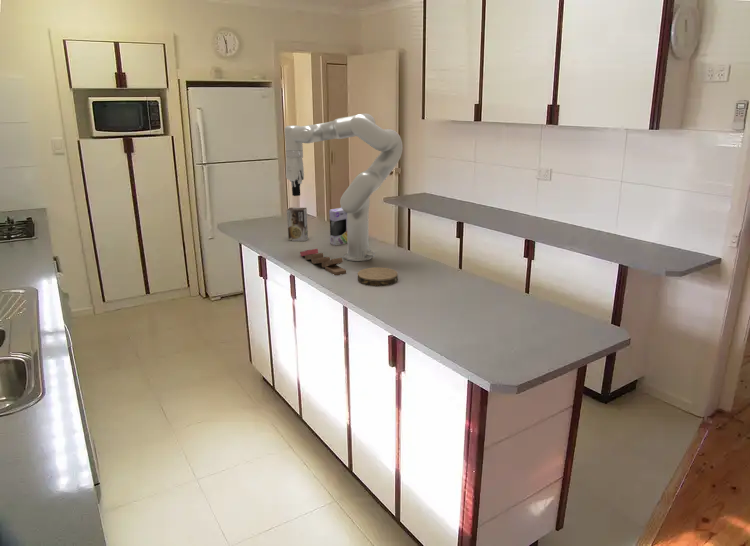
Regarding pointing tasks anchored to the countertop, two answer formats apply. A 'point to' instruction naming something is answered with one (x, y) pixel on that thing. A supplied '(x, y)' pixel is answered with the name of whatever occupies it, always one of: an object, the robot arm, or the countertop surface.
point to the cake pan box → (338, 226)
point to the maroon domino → (309, 252)
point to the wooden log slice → (377, 276)
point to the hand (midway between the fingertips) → (296, 195)
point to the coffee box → (297, 224)
